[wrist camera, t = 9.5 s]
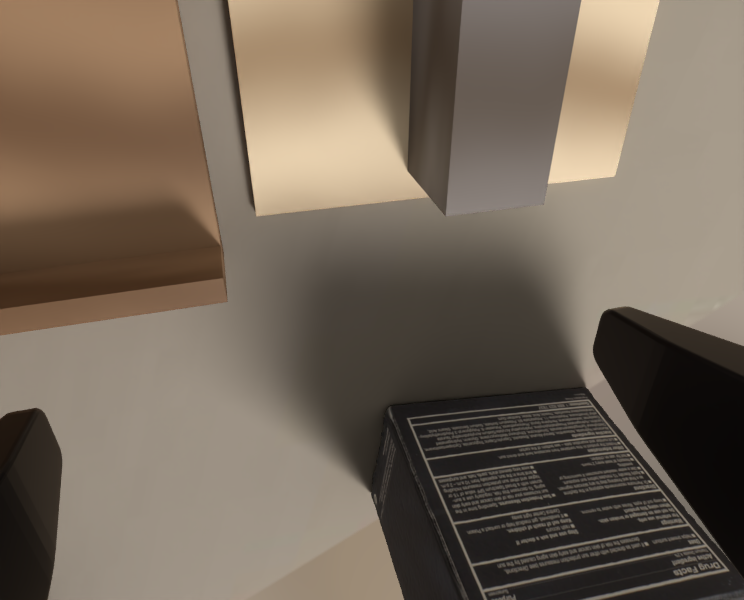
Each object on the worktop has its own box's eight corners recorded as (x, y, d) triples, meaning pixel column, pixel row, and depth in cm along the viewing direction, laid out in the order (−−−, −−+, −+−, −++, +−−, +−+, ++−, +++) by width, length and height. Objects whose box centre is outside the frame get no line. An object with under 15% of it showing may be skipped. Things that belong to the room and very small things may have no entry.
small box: (366, 500, 28) (439, 750, 19) (383, 401, 24) (481, 654, 16) (551, 474, 31) (686, 682, 22) (590, 383, 27) (766, 587, 19)
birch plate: (599, 166, 21) (681, 216, 18) (253, 203, 19) (267, 271, 15) (659, -90, 17) (786, -94, 13) (214, -90, 14) (221, -95, 10)
